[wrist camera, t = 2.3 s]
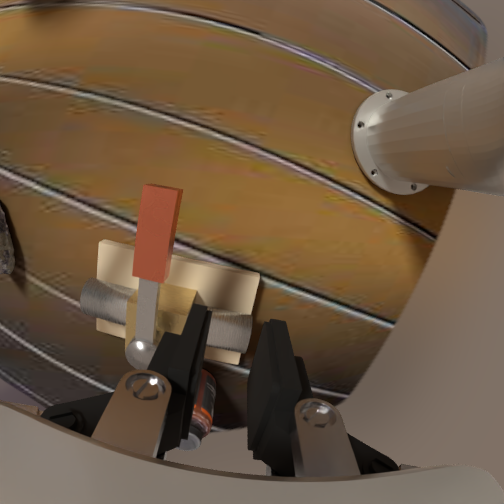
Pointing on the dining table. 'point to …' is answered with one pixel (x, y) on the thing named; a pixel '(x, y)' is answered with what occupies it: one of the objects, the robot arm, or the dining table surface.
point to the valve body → (164, 313)
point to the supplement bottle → (201, 412)
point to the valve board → (184, 275)
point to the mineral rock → (5, 247)
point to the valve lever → (152, 265)
